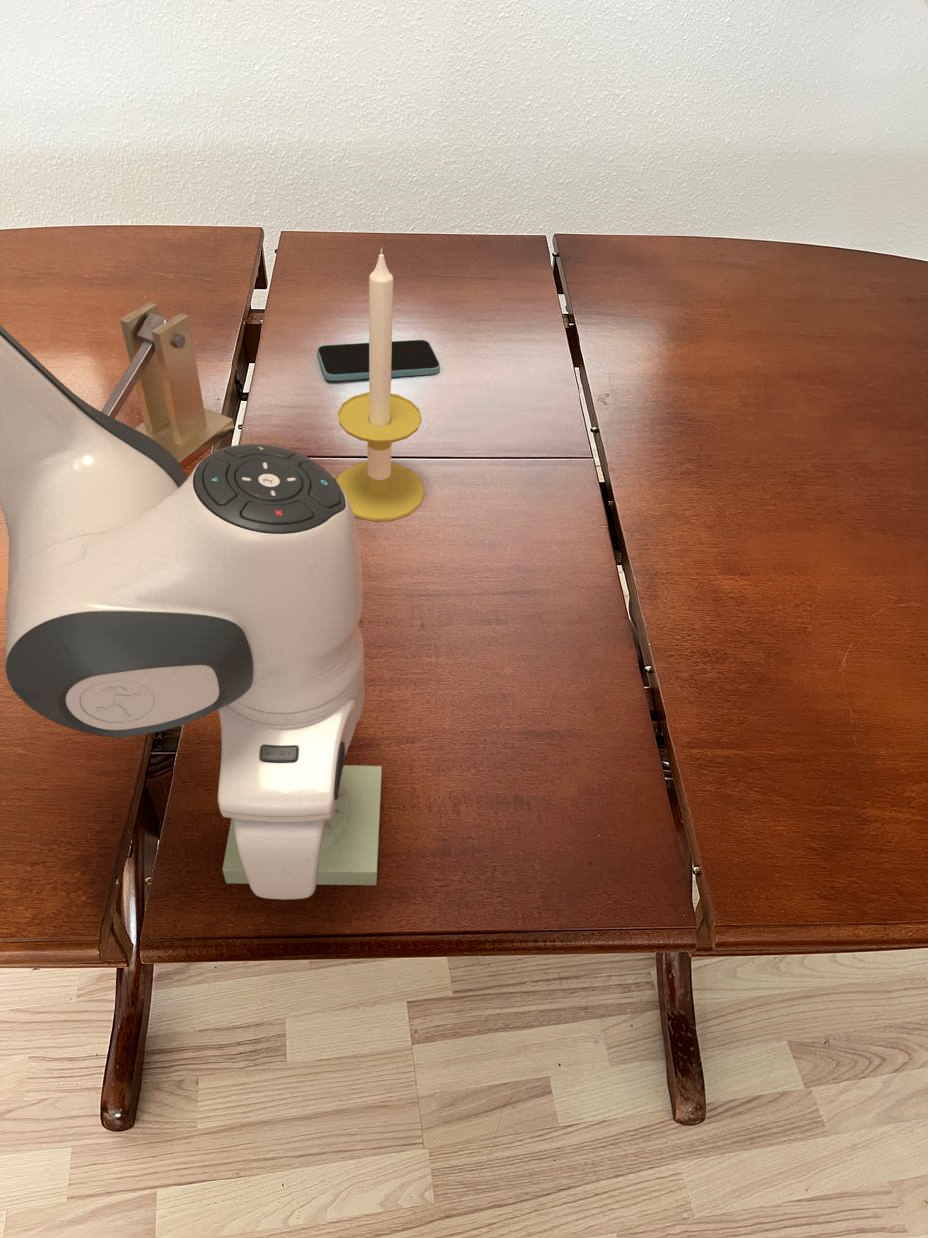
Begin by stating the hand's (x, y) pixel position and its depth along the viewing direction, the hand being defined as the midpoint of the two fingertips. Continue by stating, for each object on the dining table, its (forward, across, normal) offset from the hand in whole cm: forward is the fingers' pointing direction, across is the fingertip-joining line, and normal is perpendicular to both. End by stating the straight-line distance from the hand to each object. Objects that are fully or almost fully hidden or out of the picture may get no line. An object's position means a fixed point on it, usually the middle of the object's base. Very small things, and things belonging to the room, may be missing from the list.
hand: (305, 799), depth 63 cm
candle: (+5, -41, +4) cm, 42 cm away
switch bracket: (+4, -49, -20) cm, 53 cm away
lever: (-5, -45, -22) cm, 50 cm away
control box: (+5, 0, 0) cm, 5 cm away
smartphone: (+5, -67, +2) cm, 67 cm away
